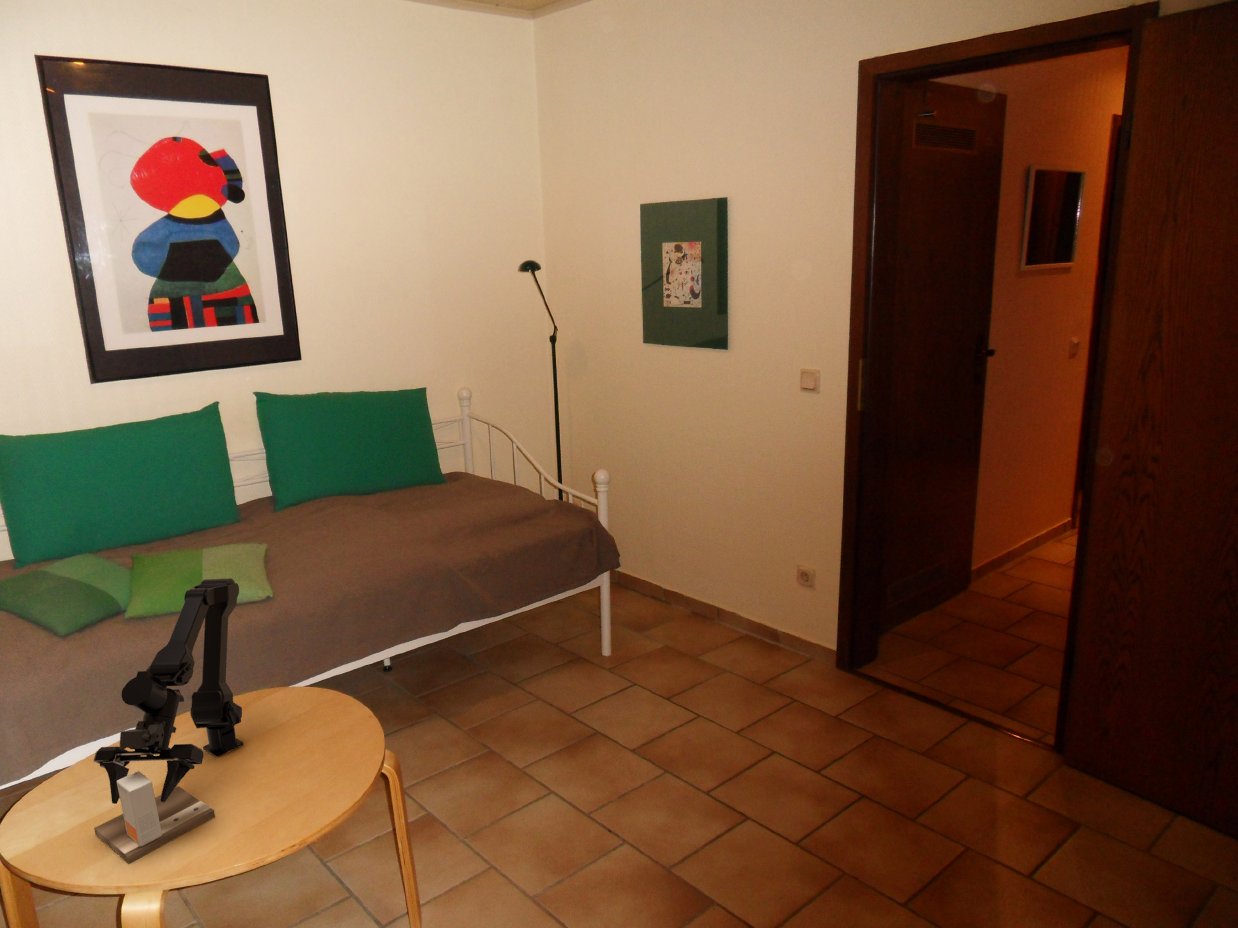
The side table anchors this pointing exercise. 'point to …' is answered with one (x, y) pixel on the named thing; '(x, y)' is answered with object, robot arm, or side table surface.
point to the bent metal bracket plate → (174, 820)
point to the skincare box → (139, 808)
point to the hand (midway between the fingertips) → (138, 802)
